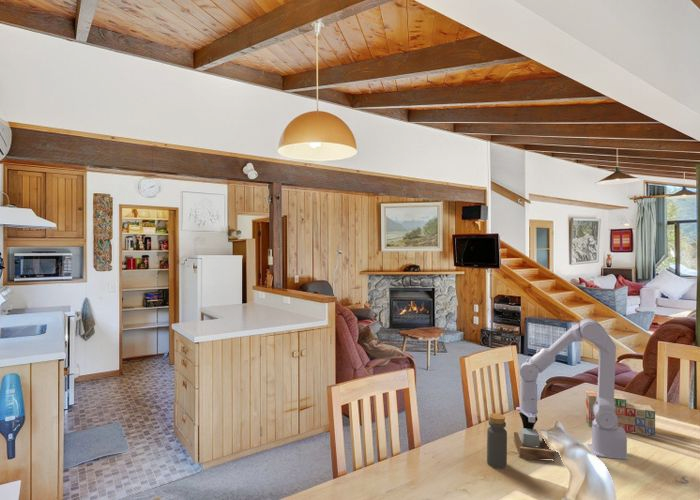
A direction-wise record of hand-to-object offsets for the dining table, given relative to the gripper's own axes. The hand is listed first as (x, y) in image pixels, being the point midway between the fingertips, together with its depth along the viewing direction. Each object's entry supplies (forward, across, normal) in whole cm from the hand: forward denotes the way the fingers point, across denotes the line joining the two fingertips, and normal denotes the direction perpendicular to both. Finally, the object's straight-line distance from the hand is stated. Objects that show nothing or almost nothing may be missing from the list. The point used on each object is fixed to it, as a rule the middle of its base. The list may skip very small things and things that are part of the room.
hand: (527, 434), depth 148 cm
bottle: (+1, +22, -13) cm, 25 cm away
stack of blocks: (+2, -18, +36) cm, 40 cm away
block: (+1, +4, 0) cm, 4 cm away
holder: (+1, +9, 0) cm, 9 cm away
